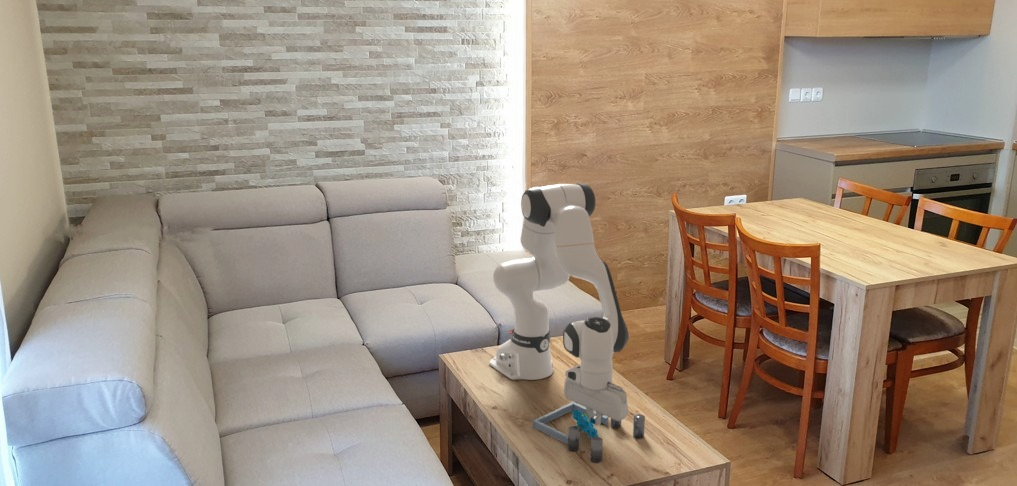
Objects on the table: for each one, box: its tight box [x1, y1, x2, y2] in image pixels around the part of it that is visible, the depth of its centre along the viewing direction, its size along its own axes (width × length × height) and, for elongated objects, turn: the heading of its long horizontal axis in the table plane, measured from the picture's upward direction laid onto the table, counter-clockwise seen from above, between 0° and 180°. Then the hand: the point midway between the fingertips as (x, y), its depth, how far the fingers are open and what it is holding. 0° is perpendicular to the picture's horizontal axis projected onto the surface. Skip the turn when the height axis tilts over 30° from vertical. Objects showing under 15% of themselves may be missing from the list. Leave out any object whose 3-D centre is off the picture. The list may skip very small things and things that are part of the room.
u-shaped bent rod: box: [532, 401, 609, 445], centre depth 222 cm, size 14×17×2 cm
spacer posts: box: [567, 413, 646, 464], centre depth 212 cm, size 11×21×6 cm, turn 133°
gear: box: [571, 409, 600, 439], centre depth 216 cm, size 11×6×10 cm
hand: (594, 423), depth 215 cm, fingers closed
